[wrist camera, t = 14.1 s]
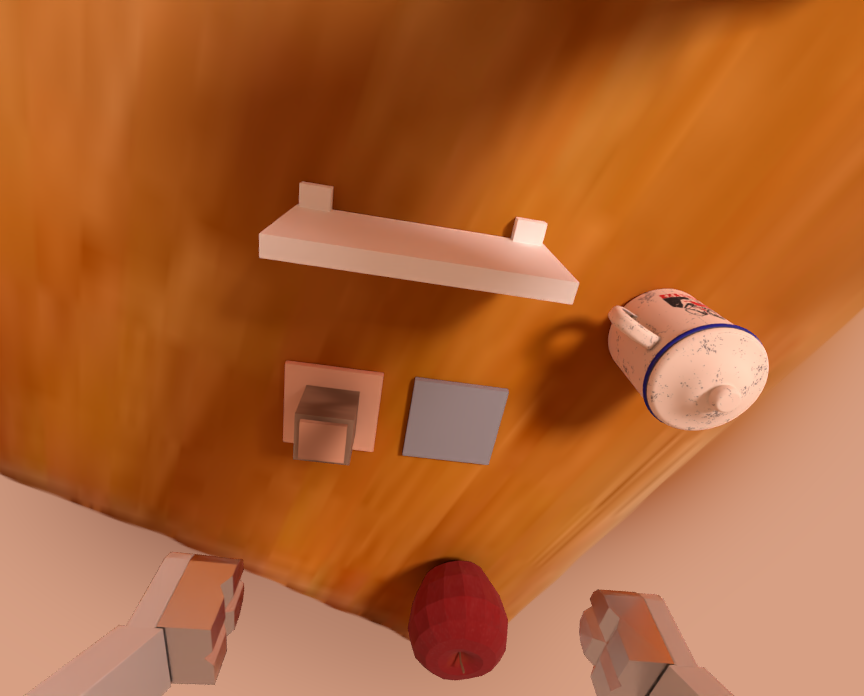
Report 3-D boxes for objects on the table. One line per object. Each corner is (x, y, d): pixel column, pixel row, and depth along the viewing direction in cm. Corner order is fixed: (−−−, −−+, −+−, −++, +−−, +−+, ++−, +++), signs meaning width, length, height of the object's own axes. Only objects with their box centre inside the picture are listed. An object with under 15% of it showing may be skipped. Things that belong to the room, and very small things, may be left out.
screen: (548, 222, 38) (587, 256, 29) (532, 280, 40) (564, 328, 31) (298, 180, 36) (259, 203, 27) (296, 244, 38) (259, 284, 29)
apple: (449, 525, 53) (457, 626, 43) (517, 564, 56) (539, 666, 46) (391, 576, 57) (385, 681, 46) (457, 610, 60) (465, 715, 50)
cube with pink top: (360, 391, 44) (353, 423, 40) (355, 434, 46) (348, 468, 42) (306, 384, 44) (293, 416, 39) (304, 428, 46) (292, 462, 41)
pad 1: (383, 372, 44) (383, 376, 43) (373, 448, 48) (373, 451, 47) (286, 360, 43) (285, 363, 43) (284, 438, 47) (282, 441, 46)
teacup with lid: (725, 316, 42) (825, 383, 32) (654, 389, 46) (724, 472, 35) (627, 247, 39) (703, 297, 29) (559, 331, 42) (604, 403, 32)
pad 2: (507, 388, 45) (508, 392, 45) (487, 461, 49) (488, 464, 49) (415, 376, 44) (415, 380, 44) (402, 451, 48) (402, 455, 48)
